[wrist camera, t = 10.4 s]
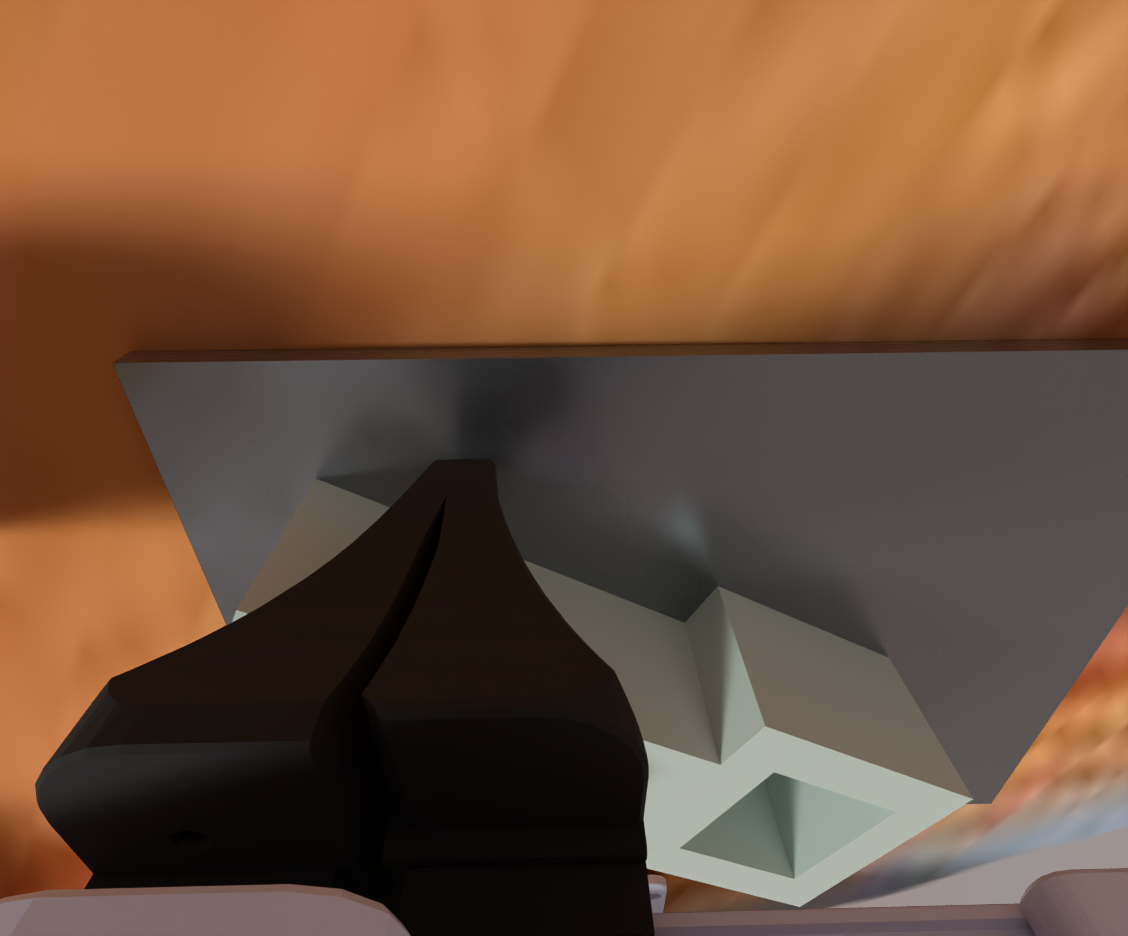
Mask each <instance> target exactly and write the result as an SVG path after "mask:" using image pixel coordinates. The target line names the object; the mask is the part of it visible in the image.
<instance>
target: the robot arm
mask: <svg viewBox="0 0 1128 936" xmlns="http://www.w3.org/2000/svg"><path fill="white" fill-rule="evenodd" d="M648 779H649V765H648V757H647V752H646V749H645V745H644V741H643V738H642V735H641V731H640V728H639V726H638V723H637V720H636V717H635V715H634V712H633V710H632V708H631V705H630V703H629V701H628V698H627V696H626V694H625V692H624V690H623V687H622V685H621V683H620V681H619V679H618V677H617V675H616V673H615V671H614V670H613V669H612V668H611V667H610V666H609V665H608V664H607V663H606V662H605V661H604V660H603V659H602V658H600V657H599V656H598V655H597V654H596V653H595V652H594V651H593V650H592V649H591V648H590V647H589V646H588V645H587V644H586V643H585V642H584V641H583V640H582V638H581V637H580V636H579V635H578V634H577V633H576V632H575V631H574V630H573V629H572V627H571V626H570V625H569V624H568V623H567V622H566V620H565V619H564V618H563V617H562V615H561V614H560V613H559V611H558V610H557V609H556V608H555V606H554V605H553V604H552V602H551V601H550V600H549V599H548V597H547V596H546V595H545V593H544V592H543V590H542V589H541V587H540V586H539V584H538V583H537V581H536V580H535V578H534V577H533V575H532V573H531V572H530V570H529V568H528V567H527V565H526V563H525V561H524V560H523V558H522V556H521V554H520V552H519V550H518V548H517V546H516V544H515V542H514V539H513V537H512V535H511V533H510V531H509V528H508V526H507V523H506V521H505V518H504V515H503V512H502V509H501V506H500V503H499V499H498V487H497V474H496V464H495V463H494V462H493V461H492V460H491V459H449V460H434V461H433V462H432V463H431V464H430V465H429V466H428V467H427V469H426V470H425V471H424V472H423V473H422V474H421V475H420V476H419V477H418V478H417V479H416V480H415V482H414V483H413V484H412V485H411V486H410V487H409V488H408V489H407V490H406V491H405V492H404V493H403V494H402V495H401V497H400V498H399V499H398V500H397V501H396V502H395V503H394V504H393V505H392V506H391V507H390V508H389V509H388V510H387V511H386V512H385V513H384V514H383V515H382V516H381V517H380V518H379V519H378V520H377V521H376V522H375V523H373V524H372V525H371V526H370V527H369V528H368V529H367V530H366V531H365V532H363V533H362V534H361V535H360V536H359V537H358V538H357V539H356V540H355V541H354V542H352V543H351V544H350V545H349V546H348V547H346V548H345V549H344V550H343V551H341V552H340V553H339V554H338V555H336V556H335V557H334V558H333V559H331V560H330V561H329V562H327V563H326V564H324V565H323V566H322V567H320V568H319V569H318V570H316V571H315V572H314V573H312V574H311V575H309V576H308V577H306V578H305V579H304V580H302V581H300V582H299V583H297V584H296V585H294V586H292V587H291V588H289V589H288V590H286V591H285V592H283V593H281V594H280V595H278V596H277V597H275V598H273V599H272V600H270V601H269V602H267V603H265V604H264V605H262V606H261V607H259V608H257V609H255V610H254V611H252V612H250V613H248V614H247V615H245V616H243V617H241V618H239V619H237V620H236V621H234V622H232V623H230V624H228V625H226V626H224V627H222V628H220V629H218V630H217V631H215V632H213V633H211V634H209V635H207V636H205V637H203V638H201V639H199V640H197V641H195V642H193V643H190V644H188V645H186V646H184V647H182V648H180V649H177V650H175V651H173V652H171V653H168V654H166V655H164V656H161V657H159V658H157V659H155V660H152V661H150V662H148V663H146V664H143V665H141V666H139V667H136V668H134V669H132V670H130V671H127V672H125V673H122V674H120V675H117V676H115V677H113V678H111V679H110V680H109V682H108V683H107V684H106V685H105V687H104V688H103V689H102V690H101V692H100V693H99V694H98V696H97V697H96V698H95V700H94V701H93V702H92V704H91V705H90V706H89V708H88V709H87V710H86V712H85V713H84V714H83V716H82V717H81V718H80V720H79V721H78V723H77V724H76V725H75V727H74V728H73V729H72V731H71V732H70V733H69V735H68V736H67V737H66V739H65V740H64V741H63V743H62V744H61V745H60V747H59V748H58V749H57V751H56V752H55V753H54V755H53V756H52V757H51V759H50V760H49V762H48V763H47V764H46V766H45V767H44V768H43V770H42V772H41V774H40V776H39V778H38V780H37V781H36V783H35V787H36V797H37V803H38V806H39V808H40V810H41V811H42V813H43V814H44V816H45V818H46V819H47V821H48V822H49V824H50V825H51V826H52V827H53V828H54V830H55V831H56V832H57V833H58V834H59V835H60V836H61V837H62V839H63V840H64V841H65V842H66V843H67V844H68V845H69V846H70V848H71V849H72V850H73V851H74V852H75V853H76V854H77V856H78V857H79V858H80V859H81V860H82V861H83V862H84V863H85V865H86V866H87V867H88V868H89V869H90V870H91V871H92V873H93V875H92V877H91V879H90V880H89V882H88V884H87V886H86V887H85V889H72V890H45V891H39V892H33V893H28V894H22V895H16V896H10V897H4V898H2V899H0V936H1128V868H1120V869H1080V870H1064V871H1057V872H1053V873H1050V874H1048V875H1045V876H1042V877H1040V878H1039V879H1038V880H1036V881H1034V882H1033V883H1032V884H1031V885H1030V886H1029V887H1028V888H1027V890H1026V891H1025V893H1024V895H1023V896H1022V898H1021V901H1020V904H987V905H950V906H908V907H870V908H830V909H791V910H752V911H713V912H674V913H663V910H664V904H665V899H666V893H667V884H666V879H665V878H664V877H663V876H661V875H648V874H647V866H646V860H647V842H646V834H645V827H644V811H645V803H646V795H647V787H648Z"/></svg>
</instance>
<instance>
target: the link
mask: <svg viewBox="0 0 1128 936" xmlns="http://www.w3.org/2000/svg"><path fill="white" fill-rule="evenodd" d="M389 508H390V507H388V506H385V505H382V504H380V503H377V502H375V501H372V500H370V499H367V498H365V497H362V496H359V495H357V494H354V493H352V492H349V491H347V490H344V489H342V488H339V487H336V486H334V485H331V484H329V483H326V482H324V481H321V480H319V479H316V478H315V480H314V481H313V483H312V485H311V486H310V488H309V490H308V491H307V493H306V495H305V496H304V498H303V500H302V501H301V503H300V505H299V506H298V508H297V510H296V511H295V513H294V515H293V516H292V518H291V520H290V521H289V523H288V525H287V526H286V528H285V530H284V531H283V533H282V535H281V536H280V538H279V540H278V541H277V543H276V545H275V546H274V548H273V550H272V551H271V553H270V555H269V556H268V558H267V560H266V561H265V563H264V565H263V566H262V568H261V570H260V571H259V573H258V575H257V576H256V578H255V580H254V581H253V583H252V585H251V586H250V588H249V590H248V591H247V593H246V595H245V596H244V598H243V600H242V601H241V603H240V605H239V606H238V608H237V610H236V612H235V615H234V618H233V621H232V622H234V621H236V620H237V619H239V618H241V617H243V616H245V615H247V614H248V613H250V612H252V611H254V610H255V609H257V608H259V607H261V606H262V605H264V604H265V603H267V602H269V601H270V600H272V599H273V598H275V597H277V596H278V595H280V594H281V593H283V592H285V591H286V590H288V589H289V588H291V587H292V586H294V585H296V584H297V583H299V582H300V581H302V580H304V579H305V578H306V577H308V576H309V575H311V574H312V573H314V572H315V571H316V570H318V569H319V568H320V567H322V566H323V565H324V564H326V563H327V562H329V561H330V560H331V559H333V558H334V557H335V556H336V555H338V554H339V553H340V552H341V551H343V550H344V549H345V548H346V547H348V546H349V545H350V544H351V543H352V542H354V541H355V540H356V539H357V538H358V537H359V536H360V535H361V534H362V533H363V532H365V531H366V530H367V529H368V528H369V527H370V526H371V525H372V524H373V523H375V522H376V521H377V520H378V519H379V518H380V517H381V516H382V515H383V514H384V513H385V512H386V511H387V510H388V509H389ZM524 561H525V560H524ZM525 563H526V565H527V567H528V568H529V570H530V572H531V573H532V575H533V577H534V578H535V580H536V581H537V583H538V584H539V586H540V587H541V589H542V590H543V592H544V593H545V595H546V596H547V597H548V599H549V600H550V601H551V602H552V604H553V605H554V606H555V608H556V609H557V610H558V611H559V613H560V614H561V615H562V617H563V618H564V619H565V620H566V622H567V623H568V624H569V625H570V626H571V627H572V629H573V630H574V631H575V632H576V633H577V634H578V635H579V636H580V637H581V638H582V640H583V641H584V642H585V643H586V644H587V645H588V646H589V647H590V648H591V649H592V650H593V651H594V652H595V653H596V654H597V655H598V656H599V657H600V658H602V659H603V660H604V661H605V662H606V663H607V664H608V665H609V666H610V667H611V668H612V669H613V670H614V671H615V673H616V675H617V677H618V679H619V681H620V683H621V685H622V687H623V690H624V692H625V694H626V696H627V698H628V701H629V703H630V705H631V708H632V710H633V712H634V715H635V717H636V720H637V723H638V726H639V728H640V731H641V735H642V738H643V741H644V745H645V749H646V752H647V757H648V765H649V779H648V787H647V795H646V803H645V811H644V827H645V834H646V842H647V860H646V866H647V869H651V870H655V871H659V872H663V873H667V874H671V875H675V876H679V877H683V878H687V879H691V880H695V881H699V882H703V883H706V884H710V885H714V886H718V887H722V888H726V889H730V890H734V891H738V892H742V893H746V894H750V895H754V896H758V897H762V898H766V899H770V900H774V901H778V902H782V903H786V904H790V905H794V906H798V907H801V906H802V905H804V904H805V903H807V902H809V901H810V900H812V899H813V898H815V897H817V896H818V895H820V894H822V893H823V892H825V891H826V890H828V889H830V888H831V887H833V886H834V885H836V884H838V883H839V882H841V881H842V880H844V879H846V878H847V877H849V876H851V875H852V874H854V873H855V872H857V871H859V870H860V869H862V868H863V867H865V866H867V865H868V864H870V863H871V862H873V861H875V860H876V859H878V858H880V857H881V856H883V855H884V854H886V853H888V852H889V851H891V850H892V849H894V848H896V847H897V846H899V845H900V844H902V843H904V842H905V841H907V840H908V839H910V838H912V837H913V836H915V835H917V834H918V833H920V832H921V831H923V830H925V829H926V828H928V827H929V826H931V825H933V824H934V823H936V822H937V821H939V820H941V819H942V818H944V817H946V816H947V815H949V814H950V813H952V812H954V811H955V810H957V809H958V808H960V807H962V806H963V805H965V804H966V803H968V802H970V801H971V800H973V798H972V796H971V794H970V793H969V791H968V789H967V788H966V786H965V784H964V783H963V781H962V779H961V778H960V776H959V774H958V773H957V771H956V769H955V768H954V766H953V764H952V762H951V761H950V759H949V757H948V756H947V754H946V752H945V751H944V749H943V747H942V746H941V744H940V742H939V741H938V739H937V737H936V736H935V734H934V732H933V731H932V729H931V727H930V726H929V724H928V722H927V720H926V719H925V717H924V715H923V714H922V712H921V710H920V709H919V707H918V705H917V704H916V702H915V700H914V699H913V697H912V695H911V694H910V692H909V690H908V689H907V687H906V685H905V684H904V682H903V680H902V679H901V677H900V675H899V673H898V672H897V670H896V668H895V667H894V665H893V663H892V662H891V660H890V658H888V657H886V656H883V655H881V654H879V653H876V652H874V651H871V650H869V649H867V648H864V647H862V646H860V645H857V644H855V643H852V642H850V641H848V640H845V639H843V638H840V637H838V636H836V635H833V634H831V633H829V632H826V631H824V630H821V629H819V628H817V627H814V626H812V625H809V624H807V623H805V622H802V621H800V620H798V619H795V618H793V617H790V616H788V615H786V614H783V613H781V612H778V611H776V610H774V609H771V608H769V607H767V606H764V605H762V604H759V603H757V602H755V601H752V600H750V599H747V598H745V597H743V596H740V595H738V594H735V593H733V592H731V591H728V590H726V589H724V588H721V587H719V586H718V587H717V588H716V589H715V590H714V591H713V592H712V593H711V594H710V596H709V597H708V598H707V599H706V600H705V601H704V602H703V603H702V604H701V605H700V607H699V608H698V609H697V610H696V611H695V612H694V613H693V614H692V615H691V617H690V618H689V619H688V620H687V621H686V622H685V623H684V622H681V621H679V620H676V619H674V618H671V617H668V616H666V615H663V614H661V613H658V612H656V611H653V610H651V609H648V608H645V607H643V606H640V605H638V604H635V603H633V602H630V601H628V600H625V599H622V598H620V597H617V596H615V595H612V594H610V593H607V592H605V591H602V590H600V589H597V588H594V587H592V586H589V585H587V584H584V583H582V582H579V581H577V580H574V579H571V578H569V577H566V576H564V575H561V574H559V573H556V572H554V571H551V570H548V569H546V568H543V567H541V566H538V565H536V564H533V563H531V562H528V561H525Z"/></svg>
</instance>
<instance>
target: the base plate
mask: <svg viewBox="0 0 1128 936" xmlns="http://www.w3.org/2000/svg"><path fill="white" fill-rule="evenodd" d="M112 364H113V366H114V368H115V371H116V373H117V375H118V377H119V380H120V382H121V384H122V387H123V389H124V391H125V393H126V396H127V398H128V400H129V403H130V405H131V407H132V410H133V412H134V414H135V416H136V419H137V421H138V423H139V426H140V428H141V430H142V432H143V435H144V437H145V439H146V442H147V444H148V446H149V449H150V451H151V453H152V455H153V458H154V460H155V462H156V465H157V467H158V469H159V471H160V474H161V476H162V478H163V481H164V483H165V485H166V488H167V490H168V492H169V494H170V497H171V499H172V501H173V504H174V506H175V508H176V510H177V513H178V515H179V517H180V520H181V522H182V524H183V527H184V529H185V531H186V533H187V536H188V538H189V540H190V543H191V545H192V547H193V549H194V552H195V554H196V556H197V559H198V561H199V563H200V566H201V568H202V570H203V572H204V575H205V577H206V579H207V582H208V584H209V586H210V588H211V591H212V593H213V595H214V598H215V600H216V602H217V605H218V607H219V609H220V611H221V614H222V616H223V618H224V621H225V623H226V625H228V624H230V623H232V621H233V618H234V615H235V612H236V610H237V608H238V606H239V605H240V603H241V601H242V600H243V598H244V596H245V595H246V593H247V591H248V590H249V588H250V586H251V585H252V583H253V581H254V580H255V578H256V576H257V575H258V573H259V571H260V570H261V568H262V566H263V565H264V563H265V561H266V560H267V558H268V556H269V555H270V553H271V551H272V550H273V548H274V546H275V545H276V543H277V541H278V540H279V538H280V536H281V535H282V533H283V531H284V530H285V528H286V526H287V525H288V523H289V521H290V520H291V518H292V516H293V515H294V513H295V511H296V510H297V508H298V506H299V505H300V503H301V501H302V500H303V498H304V496H305V495H306V493H307V491H308V490H309V488H310V486H311V485H312V483H313V481H314V480H315V478H316V479H319V480H321V481H324V482H326V483H329V484H331V485H334V486H336V487H339V488H342V489H344V490H347V491H349V492H352V493H354V494H357V495H359V496H362V497H365V498H367V499H370V500H372V501H375V502H377V503H380V504H382V505H385V506H388V507H391V506H392V505H393V504H394V503H395V502H396V501H397V500H398V499H399V498H400V497H401V495H402V494H403V493H404V492H405V491H406V490H407V489H408V488H409V487H410V486H411V485H412V484H413V483H414V482H415V480H416V479H417V478H418V477H419V476H420V475H421V474H422V473H423V472H424V471H425V470H426V469H427V467H428V466H429V465H430V464H431V463H432V462H433V461H434V460H449V459H491V460H492V461H493V462H494V463H495V464H496V474H497V487H498V499H499V503H500V506H501V509H502V512H503V515H504V518H505V521H506V523H507V526H508V528H509V531H510V533H511V535H512V537H513V539H514V542H515V544H516V546H517V548H518V550H519V552H520V554H521V556H522V558H523V560H525V561H528V562H531V563H533V564H536V565H538V566H541V567H543V568H546V569H548V570H551V571H554V572H556V573H559V574H561V575H564V576H566V577H569V578H571V579H574V580H577V581H579V582H582V583H584V584H587V585H589V586H592V587H594V588H597V589H600V590H602V591H605V592H607V593H610V594H612V595H615V596H617V597H620V598H622V599H625V600H628V601H630V602H633V603H635V604H638V605H640V606H643V607H645V608H648V609H651V610H653V611H656V612H658V613H661V614H663V615H666V616H668V617H671V618H674V619H676V620H679V621H681V622H684V623H685V622H686V621H687V620H688V619H689V618H690V617H691V615H692V614H693V613H694V612H695V611H696V610H697V609H698V608H699V607H700V605H701V604H702V603H703V602H704V601H705V600H706V599H707V598H708V597H709V596H710V594H711V593H712V592H713V591H714V590H715V589H716V588H717V587H718V586H719V587H721V588H724V589H726V590H728V591H731V592H733V593H735V594H738V595H740V596H743V597H745V598H747V599H750V600H752V601H755V602H757V603H759V604H762V605H764V606H767V607H769V608H771V609H774V610H776V611H778V612H781V613H783V614H786V615H788V616H790V617H793V618H795V619H798V620H800V621H802V622H805V623H807V624H809V625H812V626H814V627H817V628H819V629H821V630H824V631H826V632H829V633H831V634H833V635H836V636H838V637H840V638H843V639H845V640H848V641H850V642H852V643H855V644H857V645H860V646H862V647H864V648H867V649H869V650H871V651H874V652H876V653H879V654H881V655H883V656H886V657H888V658H890V660H891V662H892V663H893V665H894V667H895V668H896V670H897V672H898V673H899V675H900V677H901V679H902V680H903V682H904V684H905V685H906V687H907V689H908V690H909V692H910V694H911V695H912V697H913V699H914V700H915V702H916V704H917V705H918V707H919V709H920V710H921V712H922V714H923V715H924V717H925V719H926V720H927V722H928V724H929V726H930V727H931V729H932V731H933V732H934V734H935V736H936V737H937V739H938V741H939V742H940V744H941V746H942V747H943V749H944V751H945V752H946V754H947V756H948V757H949V759H950V761H951V762H952V764H953V766H954V768H955V769H956V771H957V773H958V774H959V776H960V778H961V779H962V781H963V783H964V784H965V786H966V788H967V789H968V791H969V793H970V794H971V796H972V798H973V800H971V801H970V802H968V803H966V804H991V803H992V801H993V800H994V799H995V797H996V796H997V794H998V793H999V791H1000V790H1001V788H1002V787H1003V785H1004V784H1005V783H1006V781H1007V780H1008V778H1009V777H1010V775H1011V774H1012V772H1013V771H1014V770H1015V768H1016V767H1017V765H1018V764H1019V762H1020V761H1021V759H1022V758H1023V756H1024V755H1025V754H1026V752H1027V751H1028V749H1029V748H1030V746H1031V745H1032V743H1033V742H1034V740H1035V739H1036V738H1037V736H1038V735H1039V733H1040V732H1041V730H1042V729H1043V727H1044V726H1045V724H1046V723H1047V722H1048V720H1049V719H1050V717H1051V716H1052V714H1053V713H1054V711H1055V710H1056V709H1057V707H1058V706H1059V704H1060V703H1061V701H1062V700H1063V698H1064V697H1065V695H1066V694H1067V693H1068V691H1069V690H1070V688H1071V687H1072V685H1073V684H1074V682H1075V681H1076V679H1077V678H1078V677H1079V675H1080V674H1081V672H1082V671H1083V669H1084V668H1085V666H1086V665H1087V663H1088V662H1089V661H1090V659H1091V658H1092V656H1093V655H1094V653H1095V652H1096V650H1097V649H1098V648H1099V646H1100V645H1101V643H1102V642H1103V640H1104V639H1105V637H1106V636H1107V634H1108V633H1109V632H1110V630H1111V629H1112V627H1113V626H1114V624H1115V623H1116V621H1117V620H1118V618H1119V617H1120V616H1121V614H1122V613H1123V611H1124V610H1125V608H1126V607H1127V605H1128V339H1090V340H1012V341H935V342H857V343H780V344H702V345H625V346H547V347H470V348H392V349H315V350H237V351H159V352H129V353H128V354H126V355H124V356H123V357H121V358H120V359H118V360H116V361H115V362H113V363H112Z"/></svg>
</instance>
